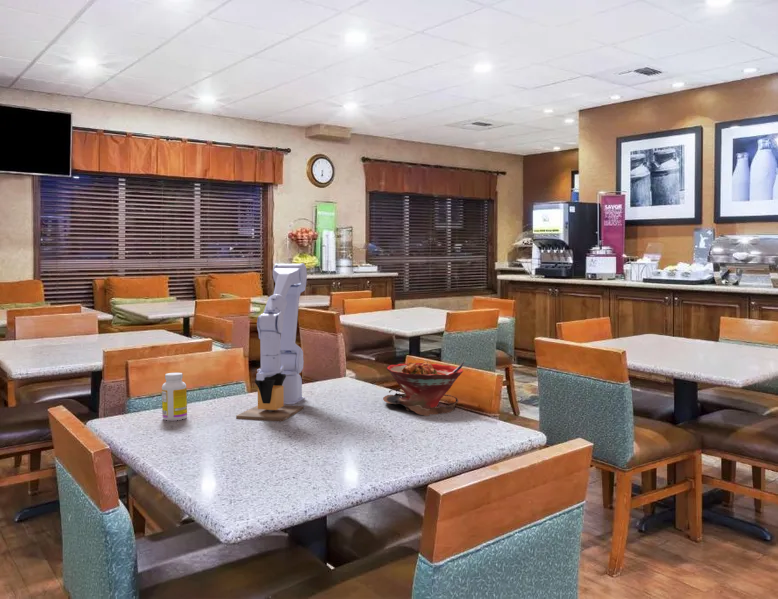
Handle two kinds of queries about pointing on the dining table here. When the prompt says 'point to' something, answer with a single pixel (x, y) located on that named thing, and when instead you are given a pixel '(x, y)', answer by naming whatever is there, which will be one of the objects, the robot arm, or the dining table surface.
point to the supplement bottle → (174, 397)
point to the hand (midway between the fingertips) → (270, 400)
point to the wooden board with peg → (270, 413)
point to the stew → (423, 386)
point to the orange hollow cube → (273, 399)
